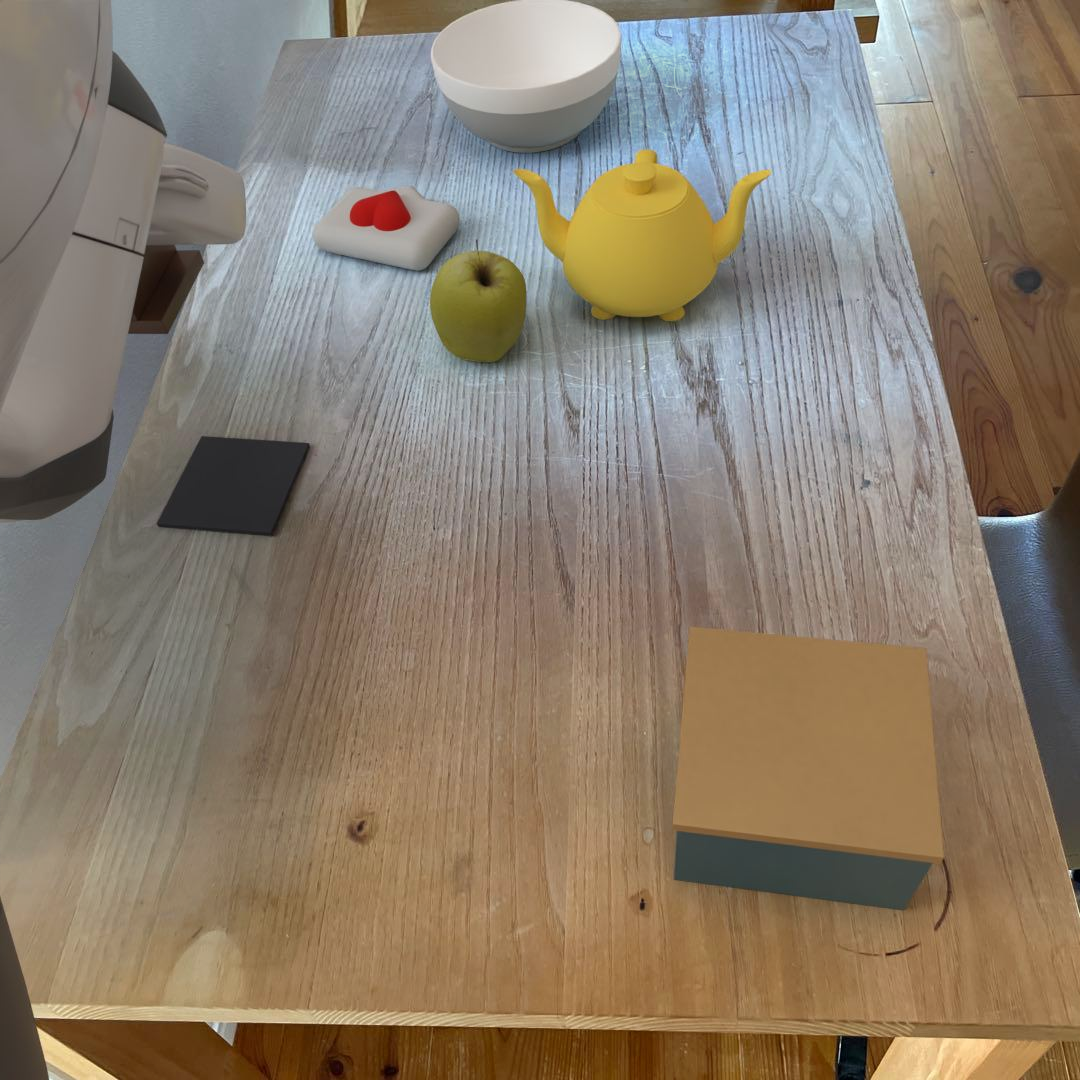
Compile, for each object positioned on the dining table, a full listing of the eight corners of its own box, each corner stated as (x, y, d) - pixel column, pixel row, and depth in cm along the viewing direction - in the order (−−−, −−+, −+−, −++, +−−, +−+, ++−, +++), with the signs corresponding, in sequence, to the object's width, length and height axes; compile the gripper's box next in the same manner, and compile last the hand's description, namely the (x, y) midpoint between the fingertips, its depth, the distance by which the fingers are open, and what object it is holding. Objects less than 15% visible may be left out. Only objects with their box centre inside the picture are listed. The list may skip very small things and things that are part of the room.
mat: (272, 536, 72) (270, 532, 71) (158, 526, 73) (156, 523, 73) (310, 446, 77) (309, 442, 77) (203, 439, 79) (201, 435, 78)
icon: (468, 176, 91) (416, 238, 86) (474, 217, 95) (425, 279, 89) (355, 156, 95) (299, 214, 90) (365, 196, 98) (311, 254, 93)
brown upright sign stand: (168, 334, 59) (103, 200, 52) (90, 334, 60) (15, 201, 53) (204, 262, 63) (150, 129, 56) (131, 263, 64) (68, 131, 57)
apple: (410, 326, 83) (425, 218, 76) (498, 323, 87) (520, 218, 80) (437, 385, 79) (455, 275, 72) (530, 379, 82) (556, 273, 75)
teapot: (759, 235, 89) (772, 112, 80) (757, 344, 80) (771, 219, 71) (540, 232, 92) (528, 113, 83) (514, 336, 83) (498, 216, 74)
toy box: (908, 915, 52) (944, 858, 45) (669, 883, 54) (672, 824, 48) (896, 720, 59) (926, 647, 52) (685, 698, 61) (689, 626, 54)
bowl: (625, 169, 98) (624, 82, 91) (436, 180, 99) (420, 96, 92) (621, 75, 109) (619, -9, 103) (451, 86, 111) (439, 5, 104)
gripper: (170, 91, 43) (291, 171, 57) (-248, 104, 46) (-37, 178, 59) (174, 240, 44) (292, 284, 57) (-238, 245, 46) (-31, 286, 60)
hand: (123, 230), depth 58 cm, fingers closed on brown upright sign stand
